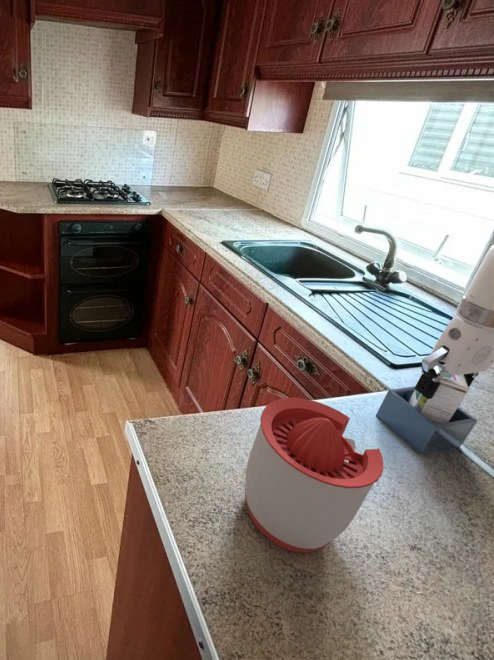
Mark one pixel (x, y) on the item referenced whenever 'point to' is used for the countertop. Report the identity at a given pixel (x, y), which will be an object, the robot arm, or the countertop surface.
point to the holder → (423, 424)
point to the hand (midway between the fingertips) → (439, 391)
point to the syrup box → (442, 398)
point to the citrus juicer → (306, 474)
